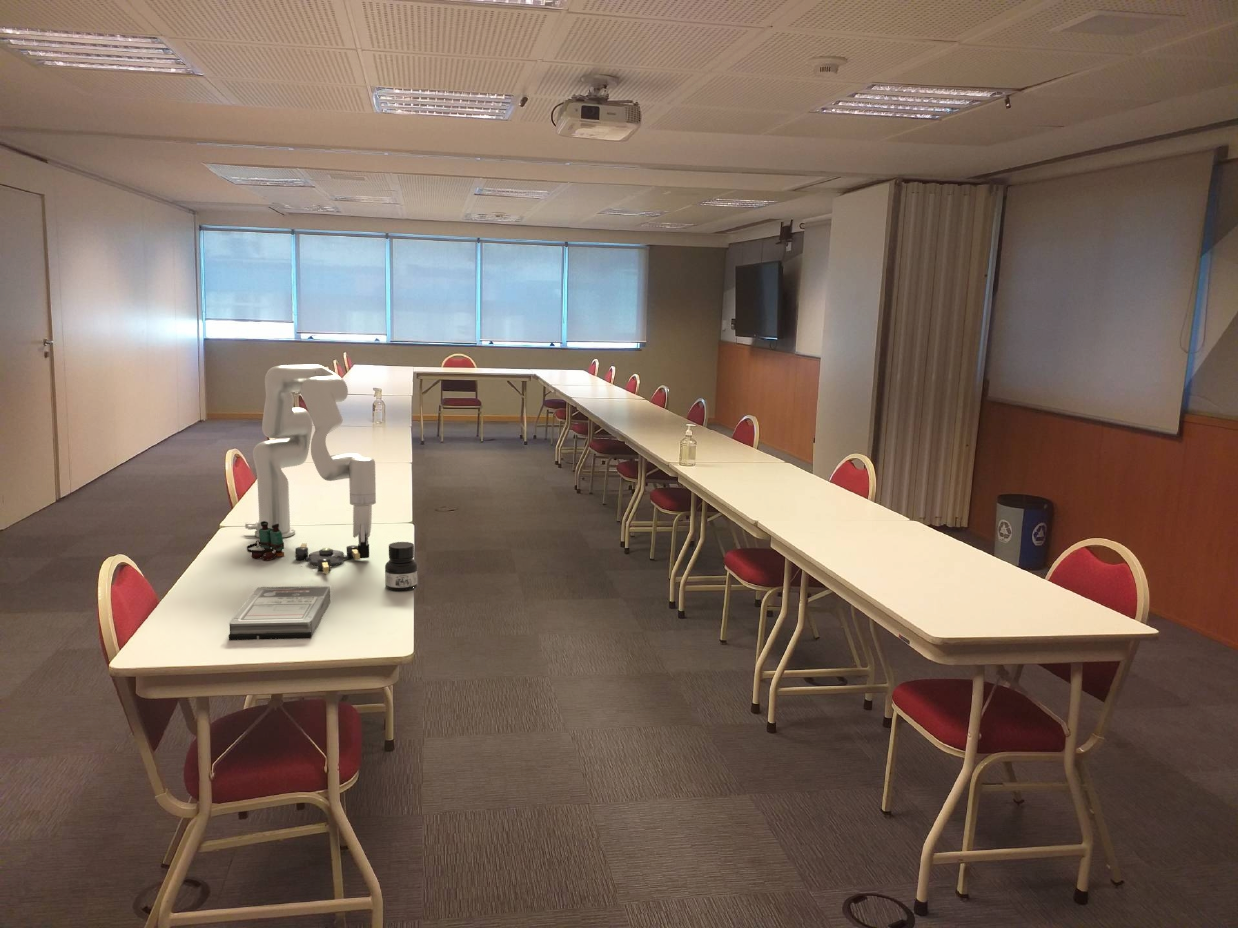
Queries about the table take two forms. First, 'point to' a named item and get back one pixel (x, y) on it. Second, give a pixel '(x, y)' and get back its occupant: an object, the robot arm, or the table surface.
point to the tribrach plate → (327, 556)
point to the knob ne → (353, 552)
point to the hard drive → (280, 613)
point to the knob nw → (301, 552)
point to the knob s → (324, 565)
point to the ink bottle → (401, 567)
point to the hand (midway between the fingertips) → (363, 557)
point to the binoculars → (268, 543)
